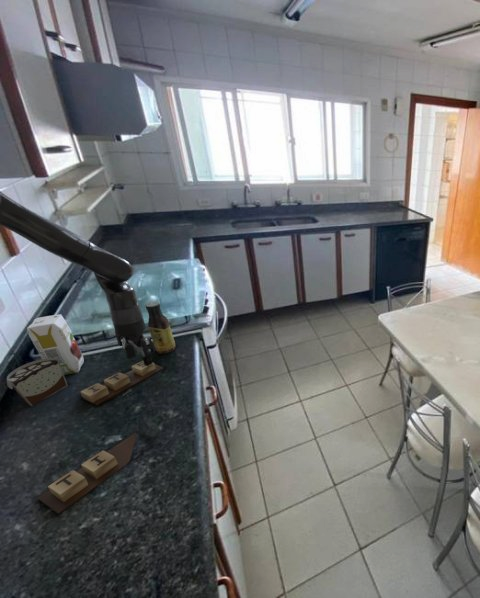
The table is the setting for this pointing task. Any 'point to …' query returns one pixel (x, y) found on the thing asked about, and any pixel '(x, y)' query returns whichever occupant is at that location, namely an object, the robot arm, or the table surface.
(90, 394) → the right word rack
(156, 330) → the sauce bottle
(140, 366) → the s tile
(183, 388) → the table surface
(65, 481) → the left word rack
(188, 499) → the table surface
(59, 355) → the juice carton
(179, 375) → the table surface
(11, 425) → the table surface
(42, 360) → the food container
